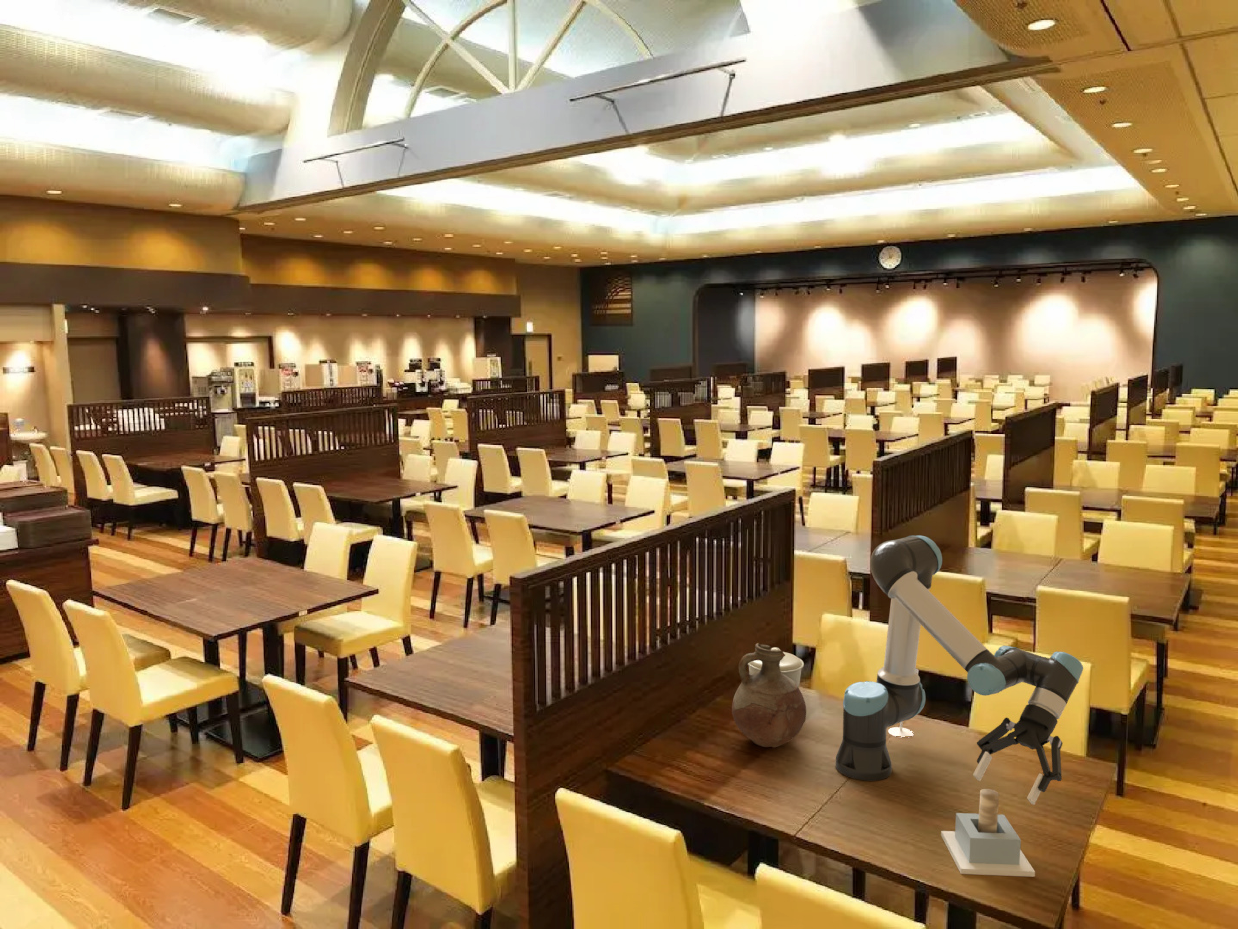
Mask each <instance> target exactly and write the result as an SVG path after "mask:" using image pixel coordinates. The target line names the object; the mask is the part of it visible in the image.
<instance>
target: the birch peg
mask: <svg viewBox="0 0 1238 929" xmlns="http://www.w3.org/2000/svg"><path fill="white" fill-rule="evenodd" d="M999 800H1000V794H999V792H998V791H996V790H994V789H991V788H983V789H980V791H979V804H978V805H979V807H978V814H979V822H978V832H979V833H997V820H998V814H999Z"/></svg>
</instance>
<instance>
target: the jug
mask: <svg viewBox="0 0 1238 929" xmlns="http://www.w3.org/2000/svg"><path fill="white" fill-rule="evenodd" d="M754 646H755V648H754V649H755V650H754V652H750V653H745V654H744V655H743V656H742V657H741V659H740V660H739V663H738V673H739V677H740V681H741V683H740V684H739V686H738V688H737V689H736V691H735V694H734V696H733V700H732V704H731V714H732V717H733V720H734V722H735V725H736V726H737V729H739V731H740V732H741V733H742V734H743V735H744V736H746V737H747V738H748V739H750V740H751V741H752V743H754V744H755V745H757V746H760V747H762V748H769V747H772V748H778V747H780V746H783V745H784V744H786V743H788V742H790V741H791V740H793V739H794V738H796V736H798V734H799V733H800V732H801V730H802V728H803V726H804V724H805V722H806V718H807V706H806V701H805V698H804V695H803V693H802V691H801V690H800V688H799V687H800V686H799V687H798V685H797V683H795V682H794V681H793V680H792V679H790V678H789V677H787V676H786V675H784V674H782V673H781V671H780V661H781V660H782V659H783V657H784V656H785V654H784V653H783V652H784V651H783V650H781V651H774V650H771V648H772V647H771V646H770V645H767V644H760V642H757V643H755V645H754ZM755 660H760V661H762V667H761V670H760V671H759V672H756V673H753V674H751V675H750V674H749V672H748V671H747V670H748V669H747V666H748V663H749V662H752V661H755Z"/></svg>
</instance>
